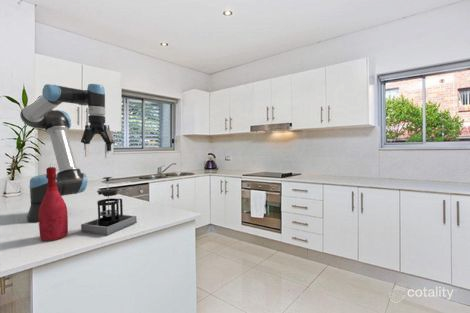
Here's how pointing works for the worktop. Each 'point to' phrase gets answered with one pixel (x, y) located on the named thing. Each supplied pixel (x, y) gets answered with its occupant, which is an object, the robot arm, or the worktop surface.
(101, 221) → the french press
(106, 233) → the tray
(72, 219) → the worktop surface
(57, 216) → the wine bottle
